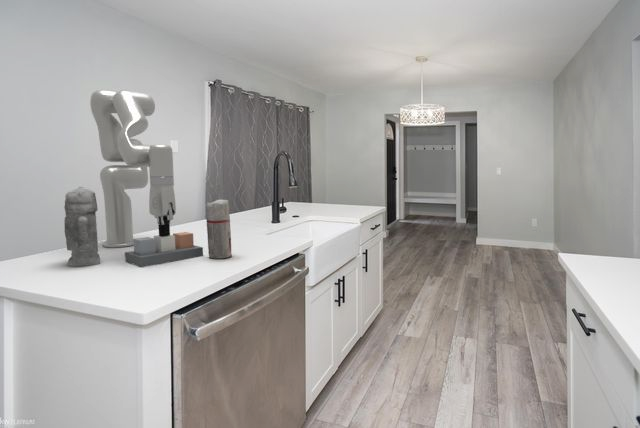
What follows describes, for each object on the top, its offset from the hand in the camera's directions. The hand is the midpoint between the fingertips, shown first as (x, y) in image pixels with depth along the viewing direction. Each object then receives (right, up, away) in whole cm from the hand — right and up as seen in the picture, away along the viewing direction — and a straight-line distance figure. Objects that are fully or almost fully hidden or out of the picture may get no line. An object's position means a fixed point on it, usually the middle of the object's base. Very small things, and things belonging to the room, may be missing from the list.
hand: (164, 235), depth 144 cm
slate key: (-5, -7, -4) cm, 9 cm away
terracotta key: (+5, -5, +6) cm, 9 cm away
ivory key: (0, -6, +1) cm, 6 cm away
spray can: (+18, -8, +3) cm, 20 cm away
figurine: (-25, -9, -5) cm, 27 cm away
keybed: (0, -8, +1) cm, 8 cm away
